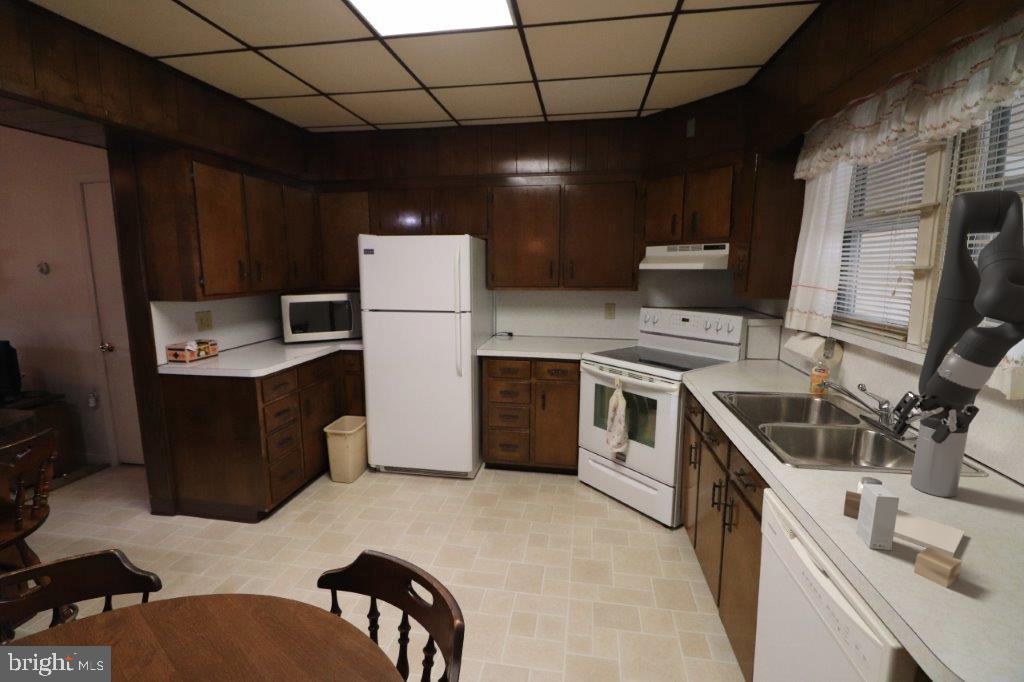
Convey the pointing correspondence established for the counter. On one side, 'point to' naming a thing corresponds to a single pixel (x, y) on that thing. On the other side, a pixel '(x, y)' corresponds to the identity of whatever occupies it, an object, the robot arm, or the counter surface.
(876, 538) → the skincare box
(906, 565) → the counter surface
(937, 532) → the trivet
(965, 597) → the counter surface
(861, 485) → the white jar
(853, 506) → the walnut block
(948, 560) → the oak block
